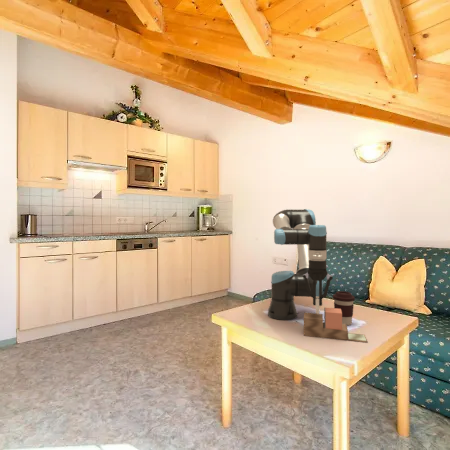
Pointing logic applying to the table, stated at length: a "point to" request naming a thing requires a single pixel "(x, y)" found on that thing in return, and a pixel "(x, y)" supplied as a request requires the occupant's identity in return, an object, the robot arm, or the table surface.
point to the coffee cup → (344, 305)
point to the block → (333, 318)
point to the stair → (317, 329)
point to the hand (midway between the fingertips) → (317, 312)
